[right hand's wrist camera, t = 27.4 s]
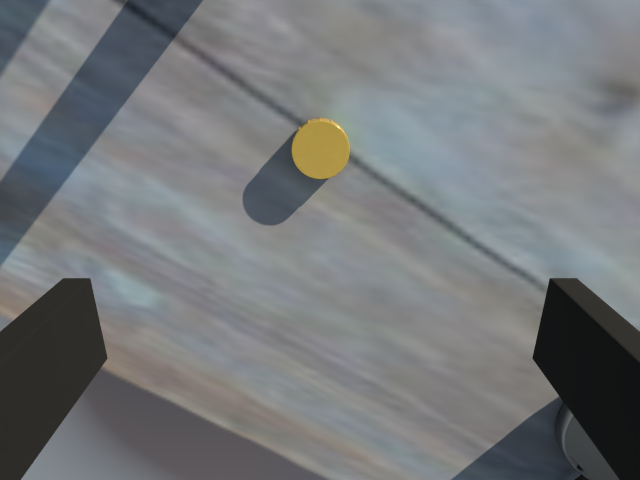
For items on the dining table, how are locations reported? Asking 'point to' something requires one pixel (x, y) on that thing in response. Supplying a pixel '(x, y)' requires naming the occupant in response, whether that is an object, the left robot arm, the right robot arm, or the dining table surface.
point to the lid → (320, 148)
